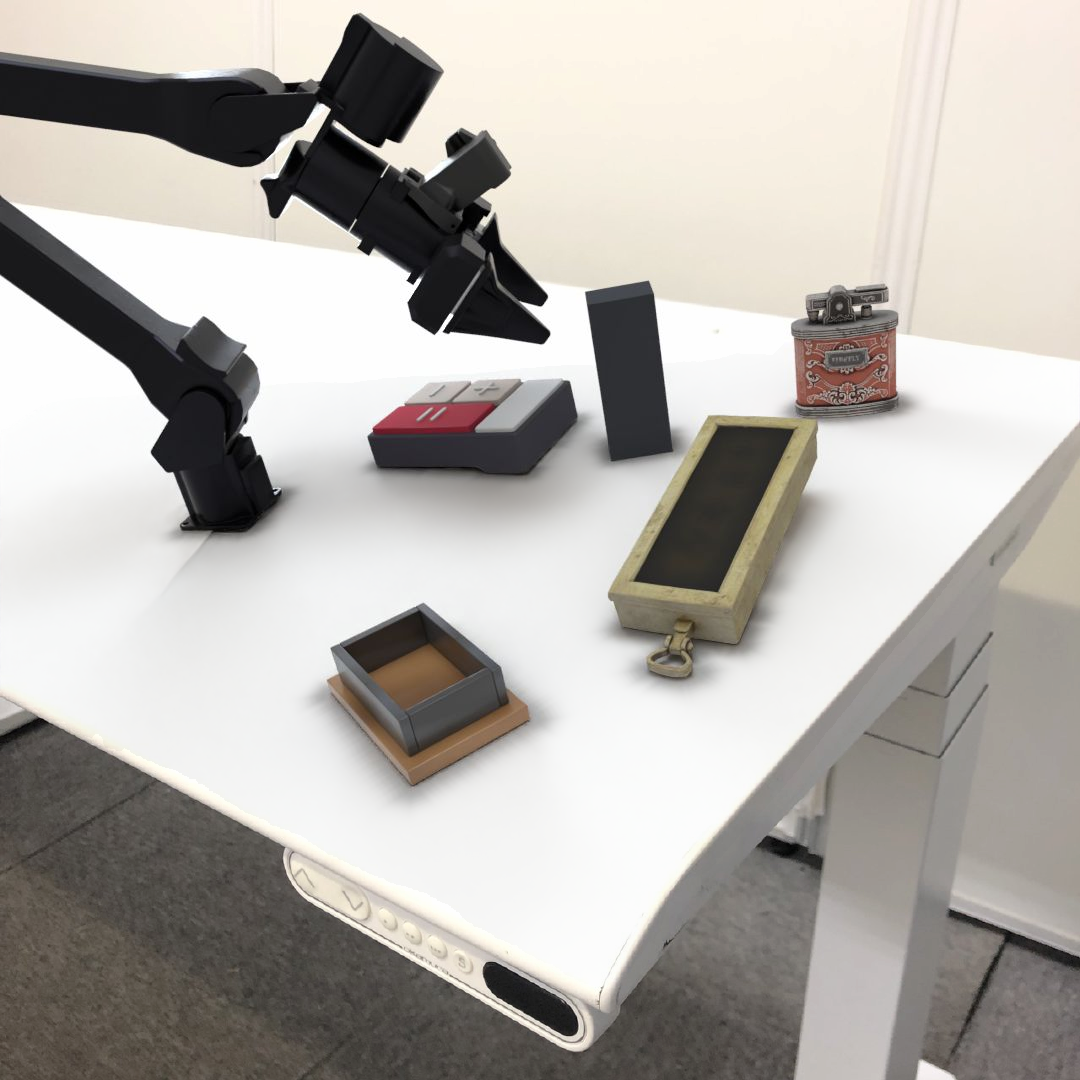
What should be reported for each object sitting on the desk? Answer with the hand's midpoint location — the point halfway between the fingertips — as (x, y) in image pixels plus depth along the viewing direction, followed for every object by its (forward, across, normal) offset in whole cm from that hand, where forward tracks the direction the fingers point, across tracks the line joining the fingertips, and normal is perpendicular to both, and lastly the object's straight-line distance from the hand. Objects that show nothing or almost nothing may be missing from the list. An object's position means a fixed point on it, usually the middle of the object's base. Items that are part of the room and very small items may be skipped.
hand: (546, 319), depth 79 cm
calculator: (+3, +6, +14) cm, 16 cm away
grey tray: (+2, -30, +15) cm, 33 cm away
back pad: (+12, 0, +4) cm, 13 cm away
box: (+15, -20, +2) cm, 25 cm away
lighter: (+25, +1, -7) cm, 26 cm away
